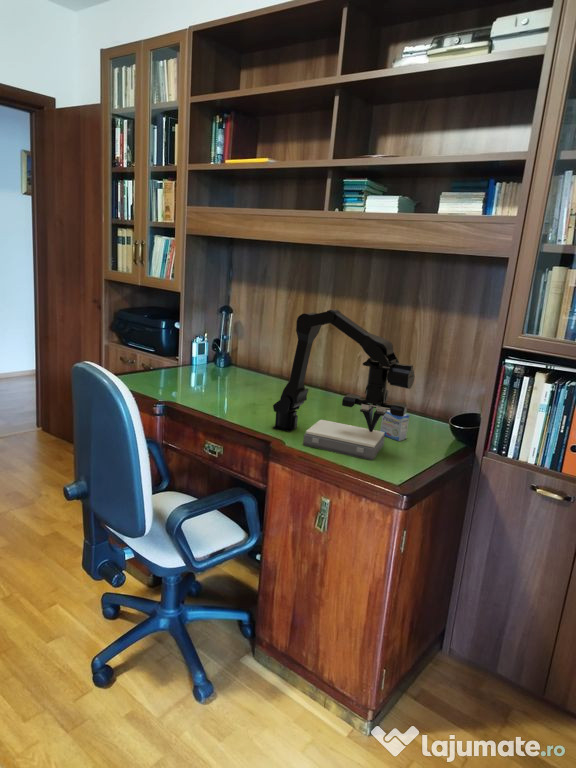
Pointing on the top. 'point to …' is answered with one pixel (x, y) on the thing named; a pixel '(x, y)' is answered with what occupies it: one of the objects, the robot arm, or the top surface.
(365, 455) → the cable tray
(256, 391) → the top surface
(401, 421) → the medicine box
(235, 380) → the top surface
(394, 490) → the top surface
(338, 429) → the tray lid
